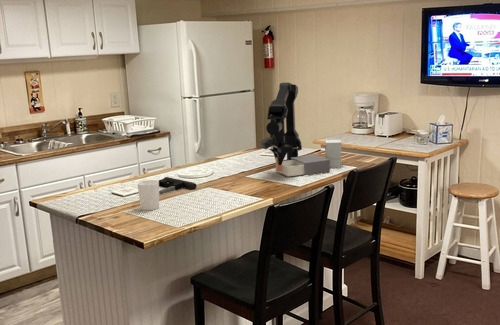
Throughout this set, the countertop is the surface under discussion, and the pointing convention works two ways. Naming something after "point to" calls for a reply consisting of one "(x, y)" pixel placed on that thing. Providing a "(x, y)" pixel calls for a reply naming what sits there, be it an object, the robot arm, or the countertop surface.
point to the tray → (290, 168)
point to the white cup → (149, 194)
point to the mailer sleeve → (314, 164)
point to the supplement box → (333, 153)
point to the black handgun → (174, 185)
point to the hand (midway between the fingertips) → (279, 164)
